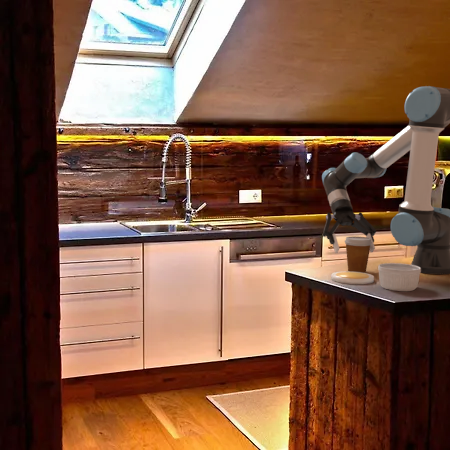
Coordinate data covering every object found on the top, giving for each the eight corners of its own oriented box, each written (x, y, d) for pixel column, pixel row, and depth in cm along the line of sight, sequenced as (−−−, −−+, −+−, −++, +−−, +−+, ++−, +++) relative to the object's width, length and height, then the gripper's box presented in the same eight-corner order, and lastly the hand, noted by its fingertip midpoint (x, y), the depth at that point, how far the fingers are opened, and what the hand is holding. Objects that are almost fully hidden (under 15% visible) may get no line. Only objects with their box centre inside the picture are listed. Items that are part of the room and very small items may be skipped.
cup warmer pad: (352, 274, 243) (352, 269, 243) (382, 281, 232) (382, 276, 232) (322, 278, 236) (322, 273, 235) (351, 285, 224) (352, 281, 224)
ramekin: (395, 281, 232) (396, 261, 232) (428, 289, 222) (429, 267, 221) (368, 286, 225) (369, 265, 224) (401, 294, 214) (402, 271, 213)
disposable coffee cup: (349, 274, 243) (350, 240, 241) (339, 269, 252) (340, 236, 251) (374, 273, 245) (376, 240, 243) (364, 268, 254) (365, 236, 253)
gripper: (367, 210, 267) (383, 255, 254) (306, 210, 261) (319, 257, 249) (374, 197, 261) (391, 243, 249) (311, 197, 255) (325, 244, 243)
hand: (355, 250), depth 249 cm, fingers open, 13 cm apart
